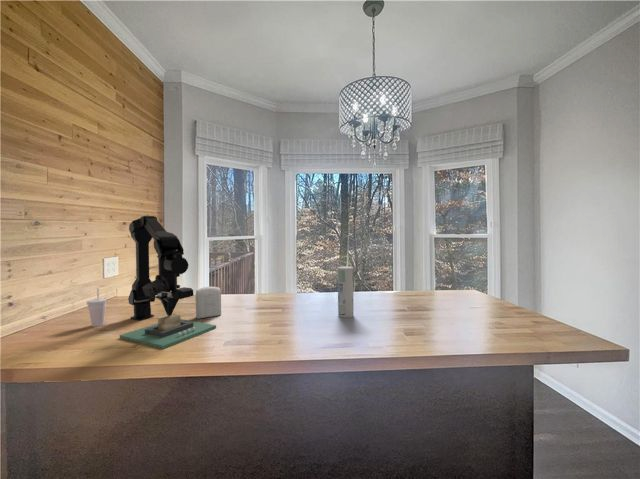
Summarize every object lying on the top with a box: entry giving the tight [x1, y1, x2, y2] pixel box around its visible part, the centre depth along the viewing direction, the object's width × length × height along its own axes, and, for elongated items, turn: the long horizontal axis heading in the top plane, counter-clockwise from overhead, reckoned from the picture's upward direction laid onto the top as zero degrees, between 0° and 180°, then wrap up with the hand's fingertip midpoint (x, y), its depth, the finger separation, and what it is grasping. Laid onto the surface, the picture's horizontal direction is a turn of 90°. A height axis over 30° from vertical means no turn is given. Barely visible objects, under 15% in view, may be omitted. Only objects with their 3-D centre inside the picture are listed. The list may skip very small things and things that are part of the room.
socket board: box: [119, 318, 217, 350], centre depth 114 cm, size 22×22×2 cm
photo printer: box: [195, 286, 222, 320], centre depth 134 cm, size 10×4×12 cm, turn 123°
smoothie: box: [86, 288, 108, 328], centre depth 123 cm, size 6×6×14 cm
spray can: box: [337, 265, 355, 319], centre depth 132 cm, size 6×6×20 cm
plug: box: [157, 312, 181, 331], centre depth 114 cm, size 4×7×5 cm, turn 153°
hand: (169, 315), depth 114 cm, fingers closed
